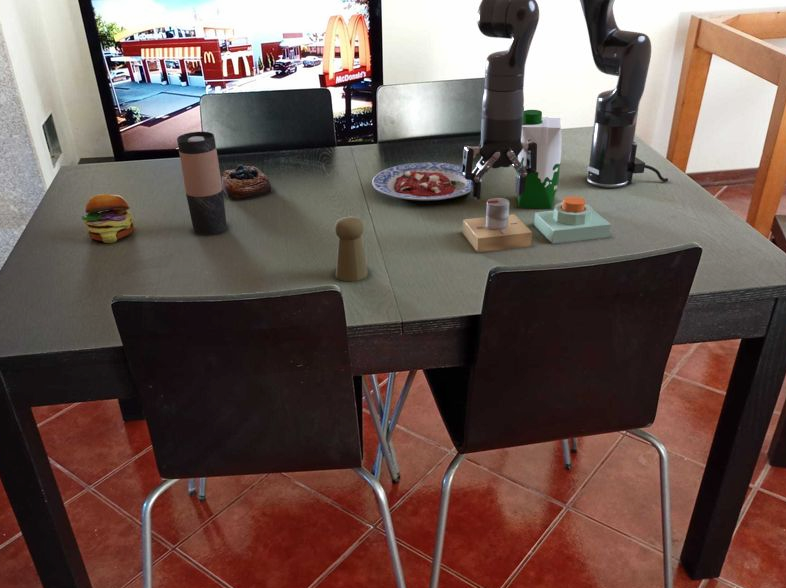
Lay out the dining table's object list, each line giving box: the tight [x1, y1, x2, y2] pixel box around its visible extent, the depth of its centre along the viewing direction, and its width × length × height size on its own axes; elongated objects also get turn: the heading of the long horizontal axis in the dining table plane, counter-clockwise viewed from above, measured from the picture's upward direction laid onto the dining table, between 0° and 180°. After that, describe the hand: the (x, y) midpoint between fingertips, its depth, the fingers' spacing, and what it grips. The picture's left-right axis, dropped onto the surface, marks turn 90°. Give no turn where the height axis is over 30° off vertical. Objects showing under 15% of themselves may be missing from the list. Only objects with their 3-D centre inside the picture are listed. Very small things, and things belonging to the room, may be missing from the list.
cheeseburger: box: [81, 193, 135, 244], centre depth 162 cm, size 10×11×10 cm
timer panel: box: [462, 213, 533, 253], centre depth 153 cm, size 11×10×3 cm
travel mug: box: [176, 131, 227, 236], centre depth 159 cm, size 8×8×20 cm
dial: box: [485, 197, 510, 230], centre depth 150 cm, size 4×4×5 cm
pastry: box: [220, 163, 272, 201], centre depth 182 cm, size 11×12×6 cm
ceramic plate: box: [371, 162, 483, 202], centre depth 180 cm, size 26×26×3 cm
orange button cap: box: [562, 195, 586, 213], centre depth 153 cm, size 4×4×2 cm
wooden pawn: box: [334, 215, 369, 282], centre depth 140 cm, size 6×6×11 cm
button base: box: [533, 201, 612, 245], centre depth 154 cm, size 12×10×5 cm
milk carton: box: [516, 109, 563, 210], centre depth 165 cm, size 9×9×20 cm
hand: (497, 196), depth 149 cm, fingers open, 8 cm apart
